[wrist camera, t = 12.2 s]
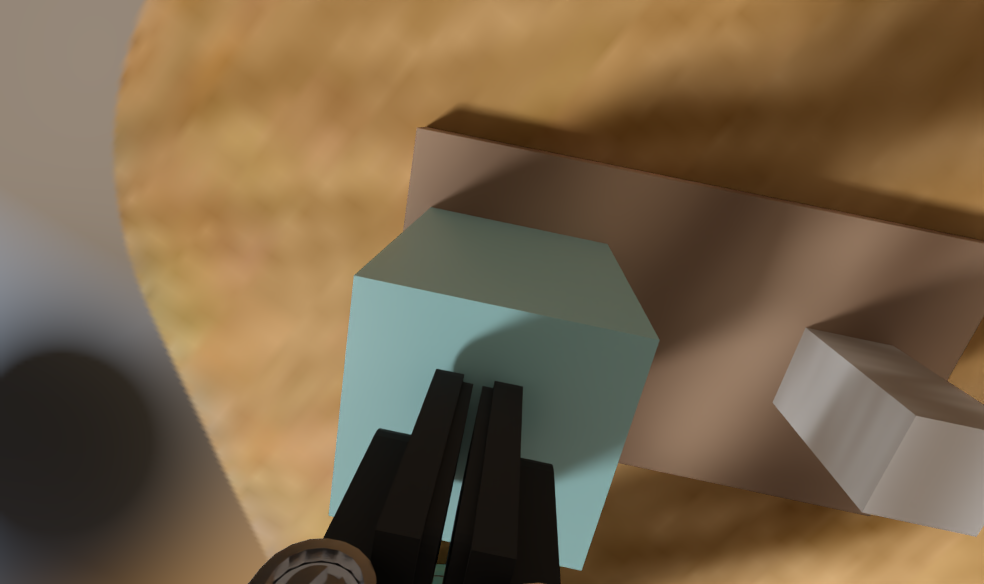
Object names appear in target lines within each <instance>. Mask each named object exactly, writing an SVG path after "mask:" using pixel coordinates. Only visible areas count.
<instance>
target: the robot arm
mask: <svg viewBox="0 0 984 584" xmlns="http://www.w3.org/2000/svg"><path fill="white" fill-rule="evenodd" d="M463 379H464V374H461V373H456V372H451V371H446V370H441V369H436V370H435V373H434V376H433V378H432V381H431V384H430V386H429V389H428V391H427V394H426V397H425V399H424V402H423V405H422V407H421V410H420V413H419V415H418V418H417V421H416V423H415V426H414V428H413V431H412V434H411V435H410V434H406V433H401V432H396V431H391V430H386V429H382V428H379V429H378V430H377V431H376V433H375V434H374V436H373V438H372V440H371V442H370V445H369V447H368V449H367V451H366V453H365V455H364V457H363V459H362V461H361V463H360V465H359V467H358V469H357V471H356V473H355V475H354V477H353V479H352V481H351V483H350V485H349V487H348V489H347V491H346V493H345V495H344V497H343V499H342V501H341V503H340V505H339V507H338V509H337V511H336V514H335V516H334V518H333V520H332V522H331V524H330V526H329V528H328V530H327V532H326V534H325V536H324V538H323V539H309V540H306V541H302V542H299V543H295V544H292V545H290V546H288V547H287V548H285V549H283V550H281V551H280V552H278V553H276V554H275V555H274V556H273V557H272V558H270V559H269V560H268V561H267V562H266V563H265V564H264V565H263V566H262V567H261V568H260V569H259V571H258V572H257V573H256V574H255V576H254V577H253V578H252V580H251V581H250V582H249V583H248V584H432V582H433V578H434V573H435V568H436V563H437V559H438V554H439V549H440V545H441V540H442V535H443V531H444V526H445V521H446V517H447V512H448V507H449V503H450V498H451V493H452V488H453V483H454V478H455V473H456V468H457V463H458V458H459V453H460V449H461V444H462V439H463V434H464V429H465V424H466V419H467V414H468V409H469V404H470V399H471V394H472V389H473V384H471V383H467V382H463ZM522 403H523V386H518V385H514V384H509V383H504V382H499V381H495V382H494V386H493V388H491V387H486V386H482V391H481V395H480V400H479V405H478V410H477V414H476V419H475V424H474V429H473V433H472V438H471V443H470V448H469V452H468V457H467V462H466V467H465V471H464V476H463V481H462V486H461V490H460V495H459V500H458V505H457V510H456V515H455V520H454V525H453V530H452V535H451V541H450V546H449V551H448V556H447V561H446V567H445V572H444V577H443V582H442V584H561V582H560V565H559V548H558V531H557V514H556V497H555V479H554V468H553V465H552V464H549V463H545V462H540V461H535V460H530V459H525V458H521V430H522Z"/></svg>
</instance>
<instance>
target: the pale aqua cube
mask: <svg viewBox="0 0 984 584" xmlns="http://www.w3.org/2000/svg"><path fill="white" fill-rule="evenodd" d="M659 341H660V340H659V338H658V336H657V334H656V332H655V331H654V329H653V327H652V325H651V323H650V321H649V319H648V318H647V316H646V314H645V312H644V310H643V308H642V307H641V305H640V303H639V301H638V299H637V297H636V295H635V294H634V292H633V290H632V288H631V286H630V284H629V283H628V281H627V279H626V277H625V275H624V273H623V271H622V270H621V268H620V266H619V264H618V262H617V260H616V259H615V257H614V255H613V253H612V251H611V249H610V248H609V246H608V244H605V243H600V242H595V241H591V240H586V239H581V238H576V237H572V236H567V235H562V234H557V233H552V232H548V231H543V230H538V229H533V228H529V227H524V226H519V225H514V224H509V223H505V222H500V221H495V220H490V219H485V218H481V217H476V216H471V215H466V214H462V213H457V212H452V211H447V210H442V209H438V208H433V207H430V208H429V209H428V210H427V211H426V212H425V213H424V214H423V215H421V216H420V217H419V218H418V219H417V220H416V221H415V222H414V223H412V224H411V225H410V226H409V227H408V228H407V229H406V230H405V231H403V232H402V233H401V234H400V235H399V236H398V237H397V238H396V239H394V240H393V241H392V242H391V243H390V244H389V245H388V246H387V247H385V248H384V249H383V250H382V251H381V252H380V253H379V254H378V255H376V256H375V257H374V258H373V259H372V260H371V261H370V262H369V263H367V264H366V265H365V266H364V267H363V268H362V269H361V270H360V271H358V272H357V273H356V274H355V275H354V280H353V290H352V299H351V309H350V318H349V328H348V337H347V347H346V357H345V366H344V376H343V385H342V395H341V404H340V414H339V423H338V433H337V442H336V452H335V461H334V471H333V480H332V490H331V499H330V509H329V516H333V517H334V516H335V514H336V511H337V509H338V507H339V505H340V503H341V501H342V499H343V497H344V495H345V493H346V491H347V489H348V487H349V485H350V483H351V481H352V479H353V477H354V475H355V473H356V471H357V469H358V467H359V465H360V463H361V461H362V459H363V457H364V455H365V453H366V451H367V449H368V447H369V445H370V442H371V440H372V438H373V436H374V434H375V433H376V431H377V430H378V429H379V428H382V429H386V430H391V431H396V432H401V433H406V434H410V435H411V434H412V431H413V428H414V426H415V423H416V421H417V418H418V415H419V413H420V410H421V407H422V405H423V402H424V399H425V397H426V394H427V391H428V389H429V386H430V384H431V381H432V378H433V376H434V373H435V370H436V369H441V370H446V371H451V372H456V373H461V374H464V379H463V382H467V383H471V384H473V389H472V394H471V399H470V404H469V409H468V414H467V419H466V424H465V429H464V434H463V439H462V444H461V449H460V453H459V458H458V463H457V468H456V473H455V478H454V483H453V488H452V493H451V498H450V503H449V507H448V512H447V517H446V521H445V526H444V531H443V535H442V540H443V541H447V542H450V541H451V535H452V530H453V525H454V520H455V515H456V510H457V505H458V500H459V495H460V490H461V486H462V481H463V476H464V471H465V467H466V462H467V457H468V452H469V448H470V443H471V438H472V433H473V429H474V424H475V419H476V414H477V410H478V405H479V400H480V395H481V391H482V386H486V387H491V388H493V386H494V382H495V381H499V382H504V383H509V384H514V385H518V386H523V403H522V430H521V458H525V459H530V460H535V461H540V462H545V463H549V464H552V465H553V468H554V479H555V497H556V514H557V531H558V548H559V565H560V566H562V567H567V568H571V569H576V570H581V571H582V568H583V565H584V562H585V559H586V556H587V553H588V550H589V547H590V544H591V541H592V538H593V535H594V532H595V529H596V526H597V523H598V520H599V518H600V515H601V512H602V509H603V506H604V503H605V500H606V497H607V494H608V491H609V488H610V485H611V482H612V479H613V476H614V473H615V470H616V467H617V464H618V461H619V459H620V456H621V453H622V450H623V447H624V444H625V441H626V438H627V435H628V432H629V429H630V426H631V423H632V420H633V417H634V414H635V411H636V408H637V405H638V402H639V400H640V397H641V394H642V391H643V388H644V385H645V382H646V379H647V376H648V373H649V370H650V367H651V364H652V361H653V358H654V355H655V352H656V349H657V346H658V343H659Z"/></svg>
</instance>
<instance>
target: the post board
mask: <svg viewBox="0 0 984 584" xmlns="http://www.w3.org/2000/svg"><path fill="white" fill-rule="evenodd" d="M430 207H433V208H438V209H442V210H447V211H452V212H457V213H462V214H466V215H471V216H476V217H481V218H485V219H490V220H495V221H500V222H505V223H509V224H514V225H519V226H524V227H529V228H533V229H538V230H543V231H548V232H552V233H557V234H562V235H567V236H572V237H576V238H581V239H586V240H591V241H595V242H600V243H605V244H608V246H609V248H610V249H611V251H612V253H613V255H614V257H615V259H616V260H617V262H618V264H619V266H620V268H621V270H622V271H623V273H624V275H625V277H626V279H627V281H628V283H629V284H630V286H631V288H632V290H633V292H634V294H635V295H636V297H637V299H638V301H639V303H640V305H641V307H642V308H643V310H644V312H645V314H646V316H647V318H648V319H649V321H650V323H651V325H652V327H653V329H654V331H655V332H656V334H657V336H658V338H659V340H660V341H659V343H658V346H657V349H656V352H655V355H654V358H653V361H652V364H651V367H650V370H649V373H648V376H647V379H646V382H645V385H644V388H643V391H642V394H641V397H640V400H639V402H638V405H637V408H636V411H635V414H634V417H633V420H632V423H631V426H630V429H629V432H628V435H627V438H626V441H625V444H624V447H623V450H622V453H621V456H620V459H619V461H618V463H621V464H626V465H631V466H636V467H640V468H645V469H650V470H654V471H659V472H664V473H669V474H673V475H678V476H683V477H687V478H692V479H697V480H701V481H706V482H711V483H716V484H720V485H725V486H730V487H734V488H739V489H744V490H749V491H753V492H758V493H763V494H767V495H772V496H777V497H782V498H786V499H791V500H796V501H800V502H805V503H810V504H814V505H819V506H824V507H829V508H833V509H838V510H843V511H847V512H852V513H857V514H862V515H866V516H870V515H871V514H872V515H876V516H881V517H886V518H890V519H895V520H900V521H905V522H909V523H914V524H919V525H923V526H928V527H933V528H938V529H942V530H947V531H952V532H956V533H961V534H966V535H971V536H975V537H976V536H977V535H978V533H979V532H980V531H981V529H982V528H983V526H984V405H983V404H982V403H980V402H979V401H977V400H975V399H974V398H972V397H971V396H969V395H968V394H966V393H965V392H963V391H962V390H960V389H959V388H957V387H956V386H954V385H953V384H951V383H949V382H948V381H947V380H948V378H949V376H950V375H951V373H952V371H953V369H954V368H955V366H956V364H957V362H958V361H959V359H960V357H961V355H962V354H963V352H964V350H965V348H966V347H967V345H968V343H969V341H970V339H971V338H972V336H973V334H974V332H975V331H976V329H977V327H978V325H979V324H980V322H981V320H982V318H983V317H984V241H982V240H978V239H973V238H968V237H963V236H958V235H953V234H948V233H943V232H938V231H933V230H929V229H924V228H919V227H914V226H909V225H904V224H899V223H894V222H889V221H884V220H880V219H875V218H870V217H865V216H860V215H855V214H850V213H845V212H840V211H835V210H831V209H826V208H821V207H816V206H811V205H806V204H801V203H796V202H791V201H786V200H782V199H777V198H772V197H767V196H762V195H757V194H752V193H747V192H742V191H737V190H733V189H728V188H723V187H718V186H713V185H708V184H703V183H698V182H693V181H688V180H684V179H679V178H674V177H669V176H664V175H659V174H654V173H649V172H644V171H639V170H635V169H630V168H625V167H620V166H615V165H610V164H605V163H600V162H595V161H591V160H586V159H581V158H576V157H571V156H566V155H561V154H556V153H551V152H546V151H542V150H537V149H532V148H527V147H522V146H517V145H512V144H507V143H502V142H497V141H493V140H488V139H483V138H478V137H473V136H468V135H463V134H458V133H453V132H448V131H444V130H439V129H434V128H429V127H419V128H417V131H416V139H415V146H414V154H413V161H412V169H411V176H410V184H409V192H408V199H407V207H406V214H405V222H404V229H403V231H405V230H406V229H407V228H408V227H409V226H410V225H411V224H412V223H414V222H415V221H416V220H417V219H418V218H419V217H420V216H421V215H423V214H424V213H425V212H426V211H427V210H428V209H429V208H430Z"/></svg>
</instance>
